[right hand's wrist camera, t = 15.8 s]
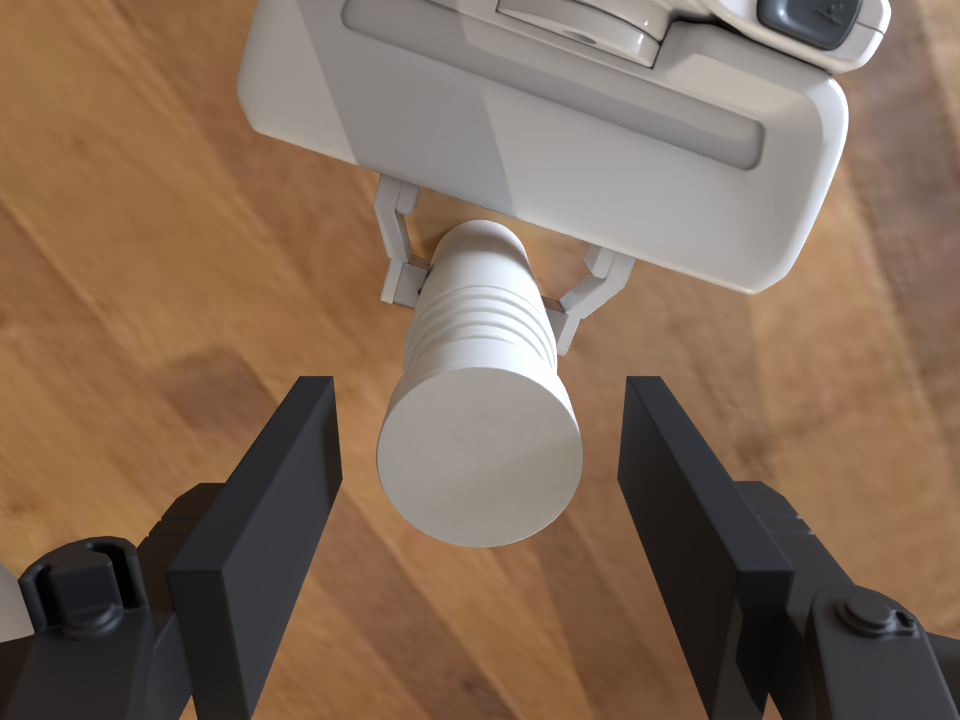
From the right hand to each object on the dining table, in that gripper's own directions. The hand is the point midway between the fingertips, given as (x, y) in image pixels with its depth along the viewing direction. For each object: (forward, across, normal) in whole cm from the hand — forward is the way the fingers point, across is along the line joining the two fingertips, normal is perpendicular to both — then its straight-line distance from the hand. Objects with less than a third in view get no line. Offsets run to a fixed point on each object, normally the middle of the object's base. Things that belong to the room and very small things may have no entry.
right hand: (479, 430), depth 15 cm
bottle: (+17, 0, 0) cm, 17 cm away
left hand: (+11, 0, -1) cm, 11 cm away
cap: (-1, 0, 0) cm, 1 cm away
